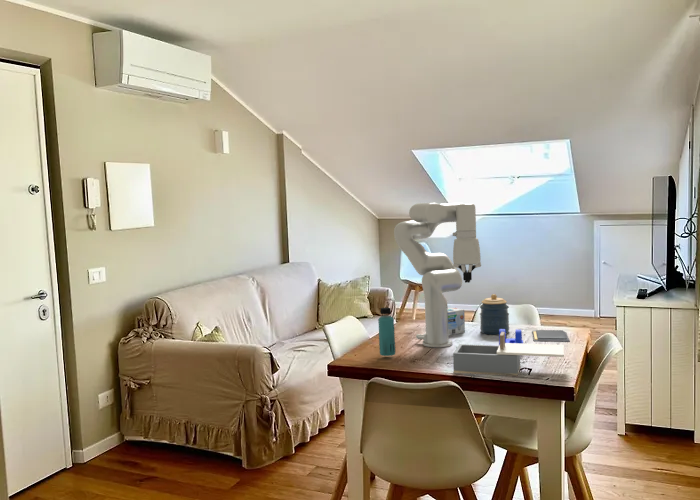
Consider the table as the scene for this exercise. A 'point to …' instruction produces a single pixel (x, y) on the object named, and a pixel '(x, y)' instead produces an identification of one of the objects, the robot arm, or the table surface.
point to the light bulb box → (456, 321)
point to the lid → (529, 349)
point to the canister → (494, 315)
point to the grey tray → (484, 360)
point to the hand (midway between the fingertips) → (467, 282)
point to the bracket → (511, 340)
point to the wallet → (550, 336)
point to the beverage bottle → (386, 333)
